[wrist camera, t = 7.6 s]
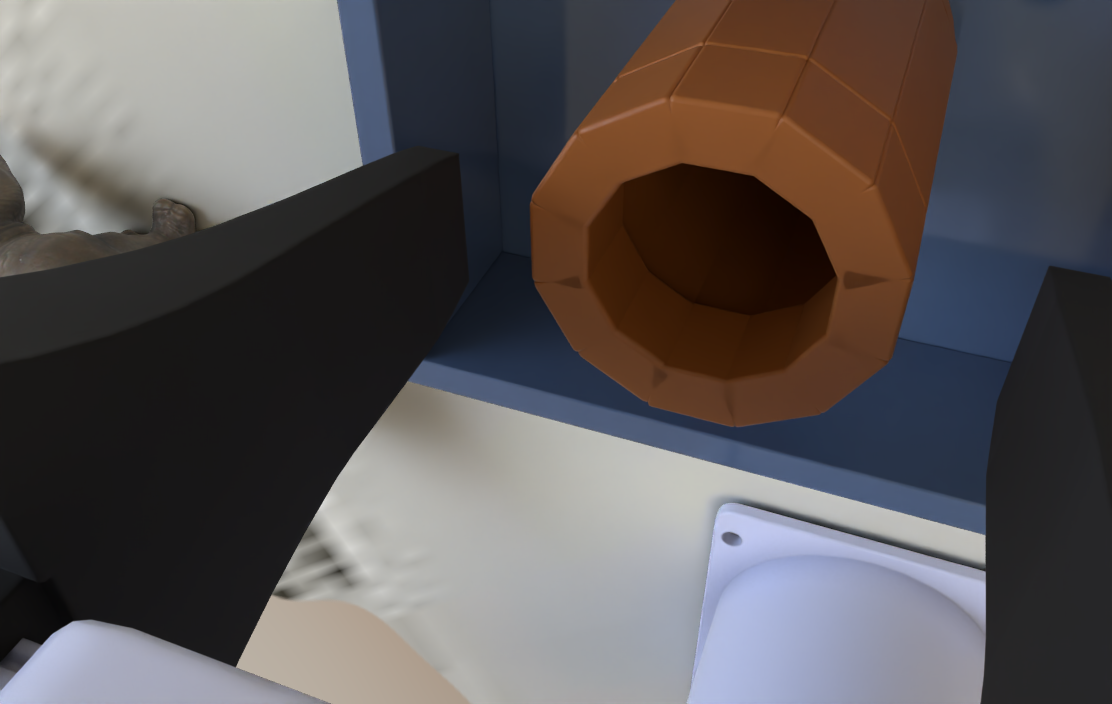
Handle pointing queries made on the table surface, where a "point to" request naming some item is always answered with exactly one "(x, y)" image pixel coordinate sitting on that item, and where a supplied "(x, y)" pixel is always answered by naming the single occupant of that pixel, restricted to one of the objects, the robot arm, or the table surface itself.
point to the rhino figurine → (73, 234)
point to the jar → (749, 203)
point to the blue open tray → (942, 268)
